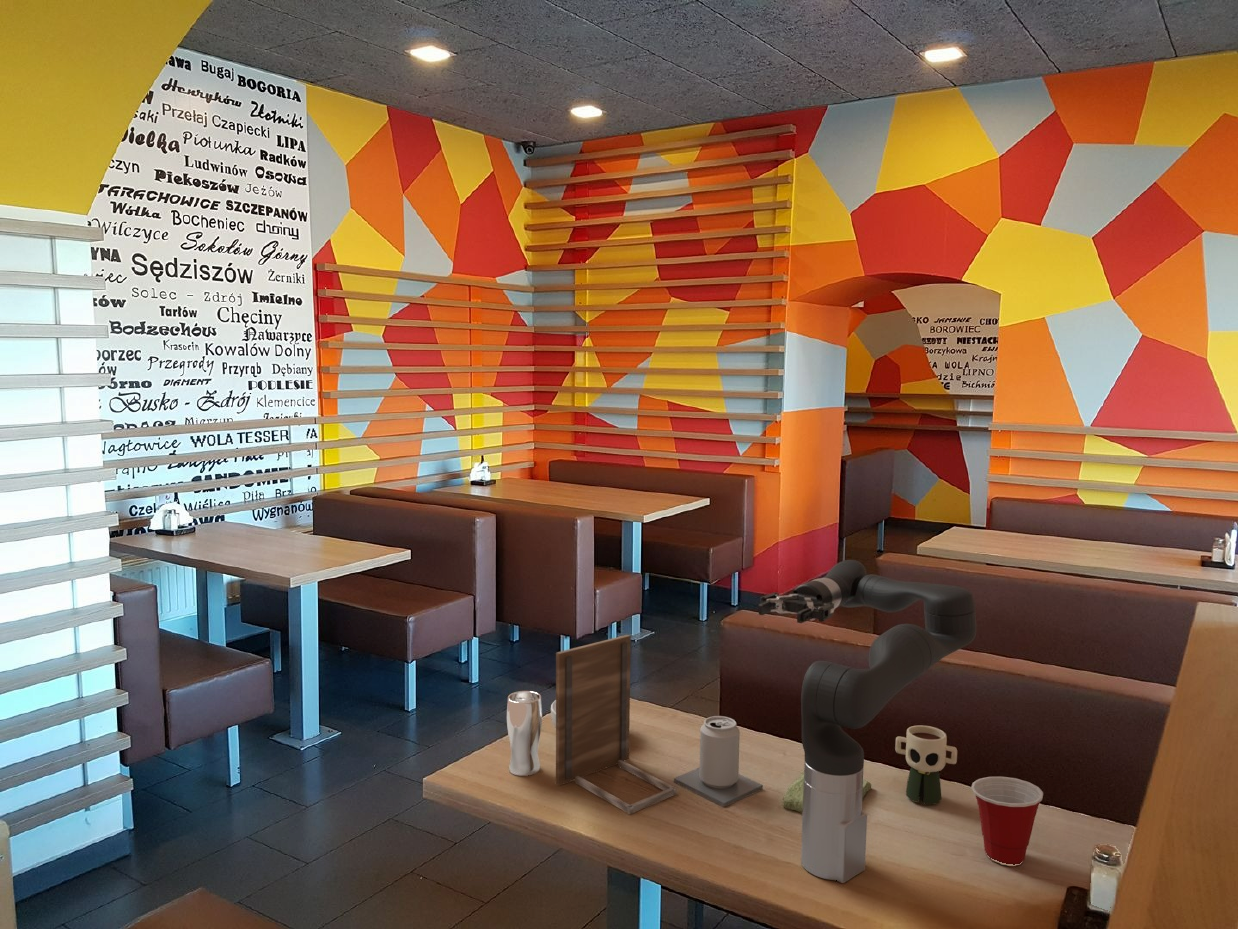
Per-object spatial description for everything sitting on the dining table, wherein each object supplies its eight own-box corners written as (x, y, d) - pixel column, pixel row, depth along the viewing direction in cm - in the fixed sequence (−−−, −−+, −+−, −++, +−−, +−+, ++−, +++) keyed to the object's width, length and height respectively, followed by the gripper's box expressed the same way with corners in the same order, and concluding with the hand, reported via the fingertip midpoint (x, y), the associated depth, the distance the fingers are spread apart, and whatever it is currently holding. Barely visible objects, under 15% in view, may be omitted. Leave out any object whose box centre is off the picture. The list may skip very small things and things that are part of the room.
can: (692, 776, 172) (693, 717, 171) (725, 769, 175) (727, 711, 174) (711, 793, 166) (712, 731, 164) (745, 786, 169) (747, 725, 167)
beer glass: (544, 762, 180) (545, 691, 178) (538, 778, 173) (538, 704, 171) (511, 760, 180) (510, 689, 179) (503, 776, 174) (503, 702, 172)
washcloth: (873, 790, 170) (874, 774, 170) (846, 830, 155) (847, 812, 155) (808, 773, 177) (808, 757, 177) (776, 810, 162) (776, 793, 162)
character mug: (889, 800, 165) (892, 733, 164) (896, 785, 172) (899, 720, 170) (951, 814, 160) (955, 745, 159) (956, 798, 167) (960, 731, 165)
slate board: (762, 789, 169) (762, 785, 169) (723, 807, 162) (723, 803, 162) (712, 765, 179) (712, 762, 179) (673, 782, 172) (673, 778, 172)
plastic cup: (979, 833, 154) (983, 766, 153) (1046, 855, 147) (1051, 785, 146) (958, 859, 146) (962, 789, 144) (1028, 883, 139) (1033, 810, 138)
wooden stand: (688, 789, 169) (691, 657, 166) (617, 820, 157) (618, 678, 154) (625, 757, 182) (627, 634, 180) (555, 784, 171) (556, 652, 168)
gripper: (787, 575, 191) (748, 589, 178) (849, 586, 182) (813, 601, 169) (786, 609, 191) (747, 625, 179) (848, 621, 182) (811, 639, 170)
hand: (779, 614), depth 174 cm, fingers open, 8 cm apart
